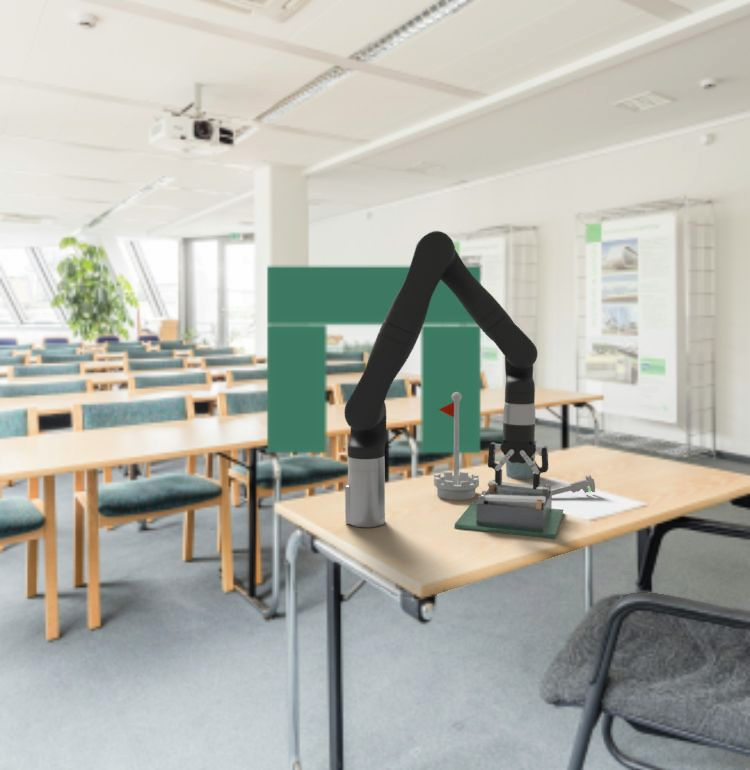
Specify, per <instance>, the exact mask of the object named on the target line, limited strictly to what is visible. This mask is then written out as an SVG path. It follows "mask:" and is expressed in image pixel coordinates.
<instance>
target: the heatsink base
mask: <svg viewBox="0 0 750 770" xmlns="http://www.w3.org/2000/svg"><path fill="white" fill-rule="evenodd" d="M491 481H495V479H492V480H491ZM551 485H552V484H550V483H545V484H544V487H549V488H550V490H549V489H546V488H543V493H541V492H533V491H525V490H516V489H508V488H500V487H494V484H489V486H488V489H487V490H482V491H481V495H478V497H477V501H472V502H471V503H470V505H469V506H468V507H467V508H466V510H465V511H463V513H462V514H461V516H460V517H459V518H458V519H457V521H455V522H454V529H461V530H462V529H463V530H471V531H480V532H488V533H496V534H497V533H499V534H500V533H501V534H508V535H517V536H519V535H520V536H526V537H536V538H537V537H538V538H546V539H553V540H555V539H556V537H557V534H558V531H559V528H560V525H561V522H562V520H563V517H564V514H563V511H564V510H565V509H562V508H553V507H552V504H553V502H552V500H553V499H552V496H553V495H552V491H551V488H552V487H551ZM482 494H487V495H515V496H543V497H546V500H545V503H542V501H536V503H534V502H508V501H485V496H482ZM562 516H563V517H562Z"/></svg>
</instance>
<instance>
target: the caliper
mask: <svg viewBox="0 0 750 770" xmlns="http://www.w3.org/2000/svg"><path fill="white" fill-rule="evenodd" d="M584 477H585V479H581V480H577V481H574V482H573V481H572V482H569V483H570V484H568V485H564V486H560V487H557V488H552V489H551V491H552V496H555V495H560V494H563V493H567V492H568V493H569V492H571V493H573V494H574V493H577V492H580V491H581V490H582V491H583V492H585V493H586V492H589V488H590V492H591V491H592V492H595V493H596V483H595V479H594V478H593V477H592V475H591V474H588V476H587V475H584ZM588 487H589V488H588ZM585 493H584V494H585Z"/></svg>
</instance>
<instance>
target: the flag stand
mask: <svg viewBox="0 0 750 770" xmlns="http://www.w3.org/2000/svg"><path fill="white" fill-rule="evenodd" d="M462 399H463V395H462V394H461V393H460V392H458V391H455V392H453V393H452V394H451V400H452V401H453V402H451V403H448V404H447V405H445V406H443V407H441V408H439V409H438V411H440V412H442V413H444V414H446V415H449V416H450V417H452V418H453V471H443V475H441V473H439V472H438V473H436V474H434V475H433V485H434V487H436V495H437V496H438V497H439V496H440V497H439V498H442V499H445V500H456V501H457V500H458V501H461V500H469V499H473V498H475V497H476V489H477V488H478V487H480V478H479V475H478V474H476V473H471V476H470V475H469V472H468V471H461V470H460V402H461V400H462Z"/></svg>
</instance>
